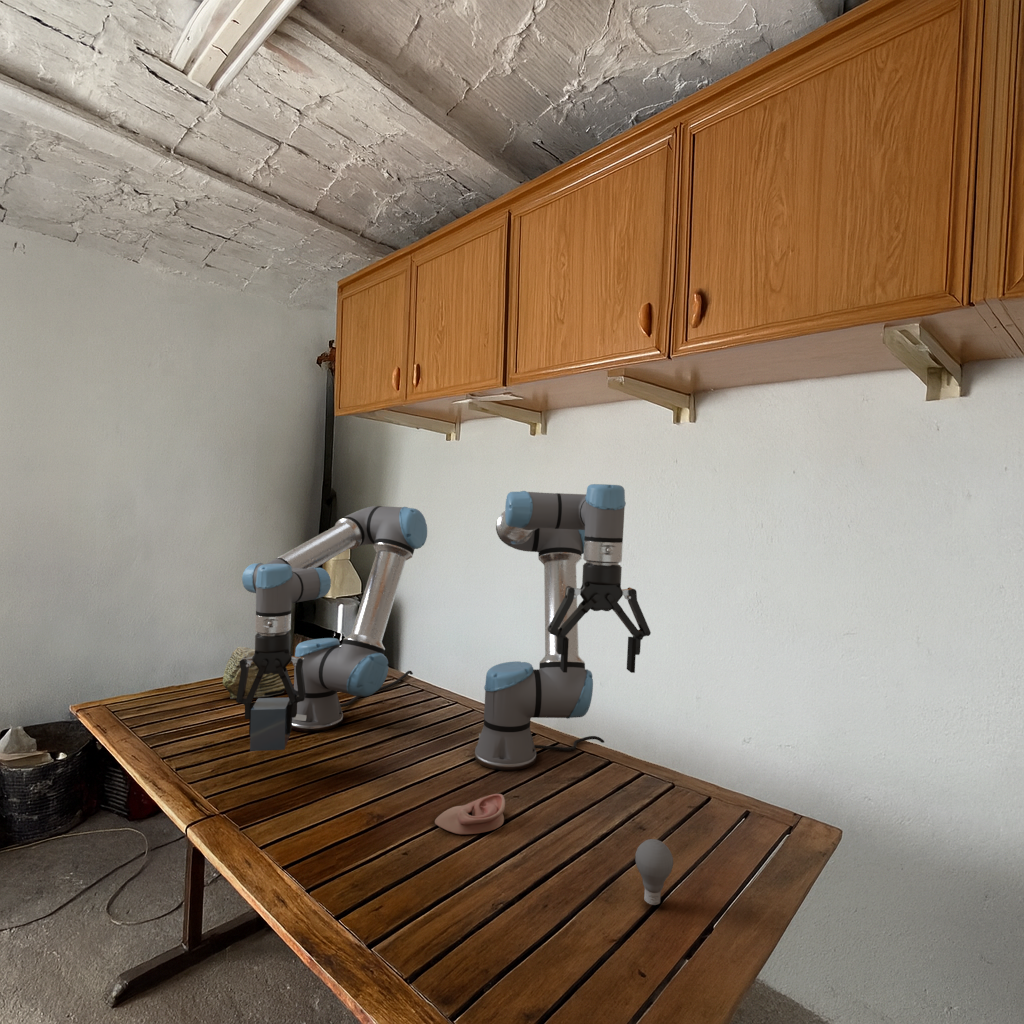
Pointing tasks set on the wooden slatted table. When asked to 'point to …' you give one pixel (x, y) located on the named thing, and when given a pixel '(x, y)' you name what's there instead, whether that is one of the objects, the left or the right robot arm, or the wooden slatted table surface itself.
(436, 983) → the wooden slatted table surface
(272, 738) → the brick
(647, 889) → the light bulb
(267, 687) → the fossil
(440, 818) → the anatomical model
